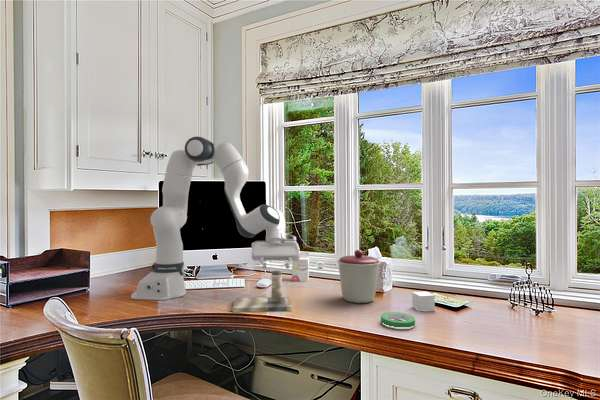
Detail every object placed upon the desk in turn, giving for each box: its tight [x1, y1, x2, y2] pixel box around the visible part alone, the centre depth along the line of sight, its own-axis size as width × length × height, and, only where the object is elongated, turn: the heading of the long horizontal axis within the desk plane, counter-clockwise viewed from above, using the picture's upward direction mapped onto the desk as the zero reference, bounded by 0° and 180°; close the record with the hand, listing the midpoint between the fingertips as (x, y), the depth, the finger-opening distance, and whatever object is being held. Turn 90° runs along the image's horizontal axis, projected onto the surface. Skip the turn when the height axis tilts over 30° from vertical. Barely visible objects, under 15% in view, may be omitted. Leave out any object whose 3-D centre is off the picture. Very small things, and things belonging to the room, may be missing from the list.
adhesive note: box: [411, 291, 436, 312], centre depth 140 cm, size 6×6×6 cm
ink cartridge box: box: [291, 251, 310, 282], centre depth 189 cm, size 9×5×15 cm, turn 84°
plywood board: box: [232, 296, 293, 313], centre depth 143 cm, size 22×14×2 cm, turn 95°
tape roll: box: [380, 311, 416, 327], centre depth 123 cm, size 11×11×3 cm
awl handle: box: [271, 270, 283, 303], centre depth 143 cm, size 4×4×12 cm
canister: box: [336, 249, 381, 304], centre depth 152 cm, size 18×18×21 cm
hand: (276, 267), depth 148 cm, fingers open, 8 cm apart
